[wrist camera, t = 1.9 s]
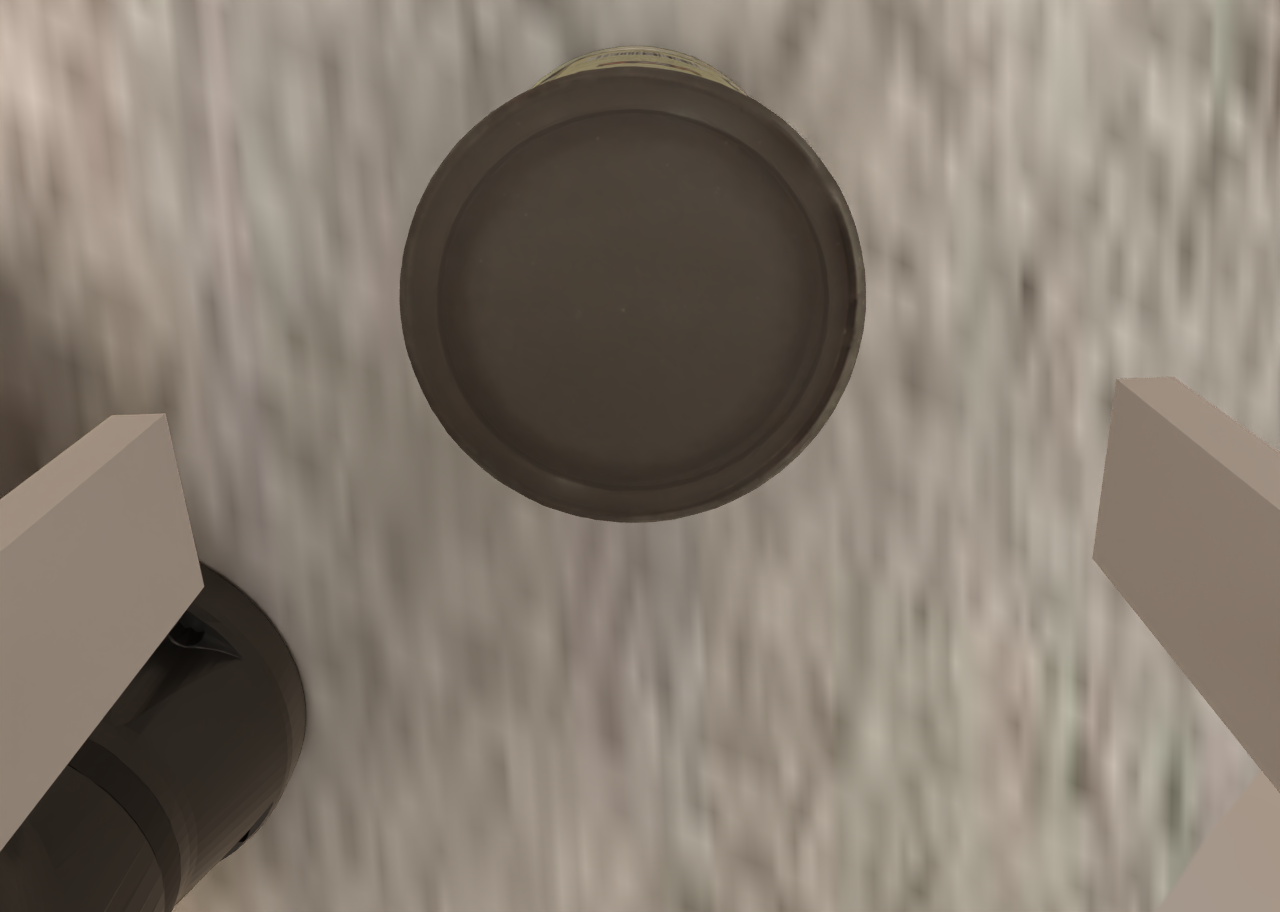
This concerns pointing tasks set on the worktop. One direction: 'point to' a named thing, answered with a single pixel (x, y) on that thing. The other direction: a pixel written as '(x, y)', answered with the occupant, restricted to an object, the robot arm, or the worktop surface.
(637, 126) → the coffee can
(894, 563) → the worktop surface
